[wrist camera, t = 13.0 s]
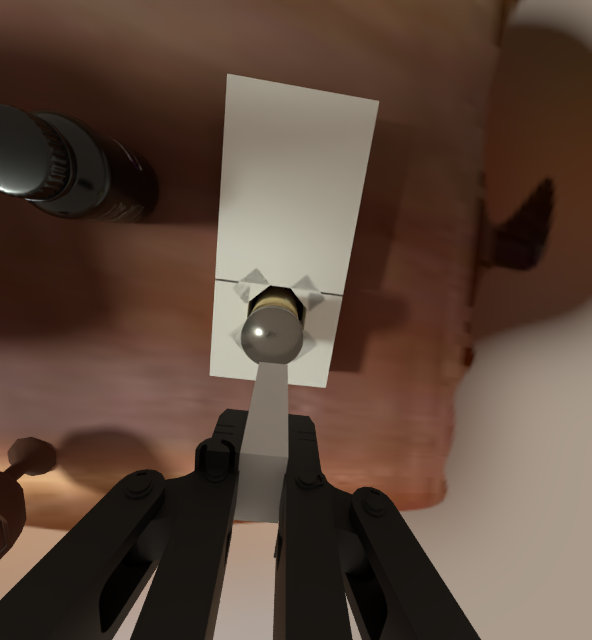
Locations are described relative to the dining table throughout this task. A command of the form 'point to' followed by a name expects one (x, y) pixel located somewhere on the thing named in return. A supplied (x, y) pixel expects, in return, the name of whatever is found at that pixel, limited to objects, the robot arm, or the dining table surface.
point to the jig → (287, 214)
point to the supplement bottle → (72, 168)
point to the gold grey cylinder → (273, 328)
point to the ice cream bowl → (6, 493)
